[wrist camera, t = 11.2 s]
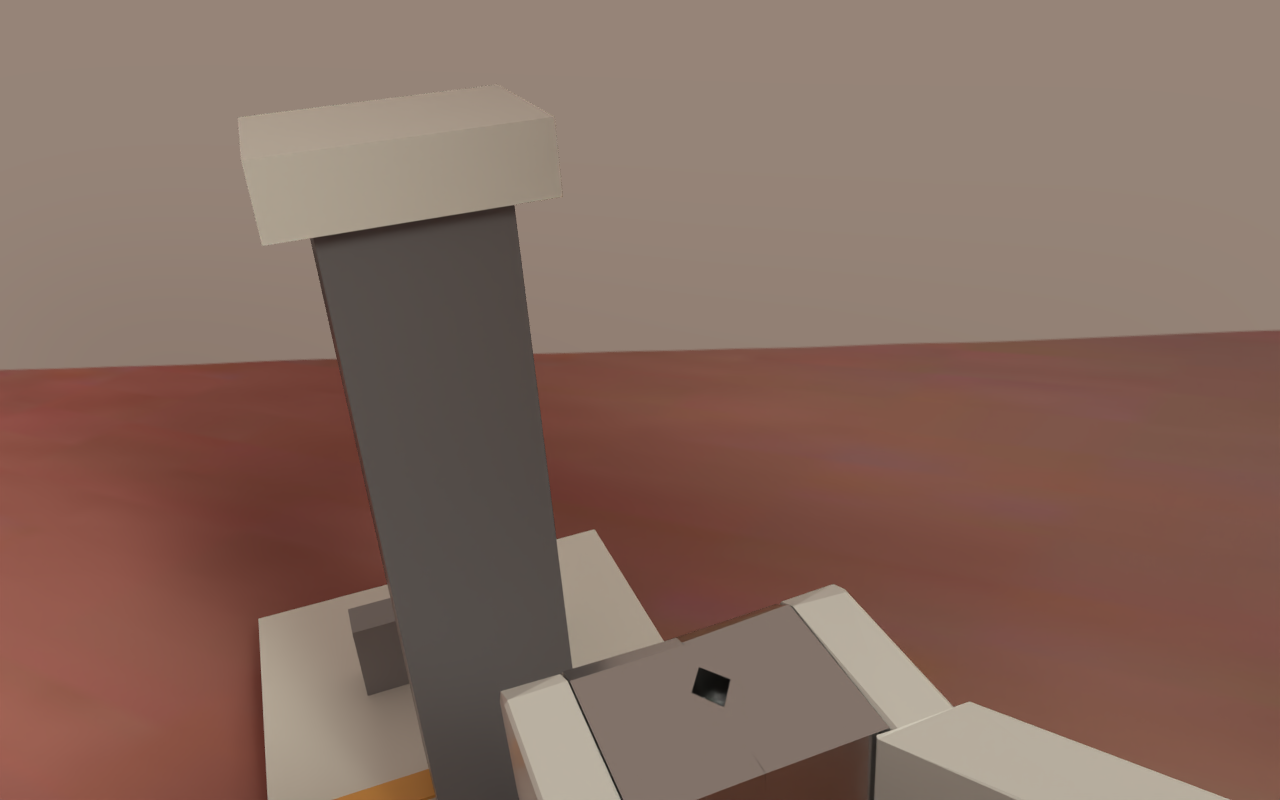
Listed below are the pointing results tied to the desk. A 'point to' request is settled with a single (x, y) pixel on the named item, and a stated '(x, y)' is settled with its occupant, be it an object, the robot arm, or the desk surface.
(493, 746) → the fader tab
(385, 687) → the console
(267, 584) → the desk surface
